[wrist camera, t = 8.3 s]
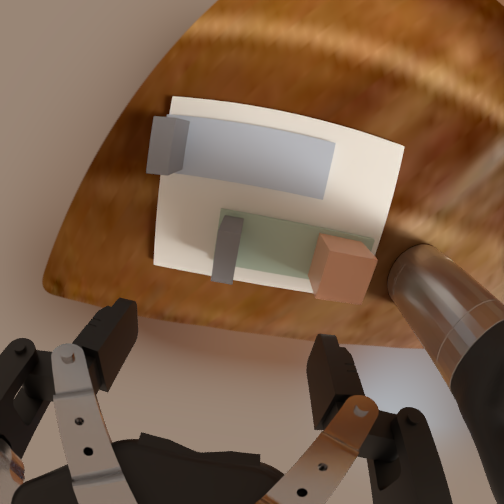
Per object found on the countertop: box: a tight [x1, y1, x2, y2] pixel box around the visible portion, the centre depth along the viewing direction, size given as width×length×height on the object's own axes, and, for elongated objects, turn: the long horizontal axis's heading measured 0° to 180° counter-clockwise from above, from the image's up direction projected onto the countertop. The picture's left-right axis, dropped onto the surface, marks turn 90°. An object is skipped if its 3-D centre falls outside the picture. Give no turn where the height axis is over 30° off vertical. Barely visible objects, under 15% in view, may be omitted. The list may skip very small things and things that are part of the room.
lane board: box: [154, 96, 404, 293], centre depth 30 cm, size 25×19×1 cm
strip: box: [146, 114, 336, 200], centre depth 25 cm, size 17×6×6 cm, turn 80°
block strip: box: [211, 208, 375, 284], centre depth 29 cm, size 17×6×6 cm, turn 80°
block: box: [308, 233, 378, 305], centre depth 29 cm, size 5×5×5 cm
